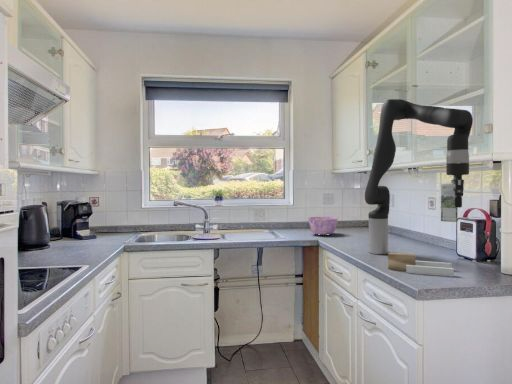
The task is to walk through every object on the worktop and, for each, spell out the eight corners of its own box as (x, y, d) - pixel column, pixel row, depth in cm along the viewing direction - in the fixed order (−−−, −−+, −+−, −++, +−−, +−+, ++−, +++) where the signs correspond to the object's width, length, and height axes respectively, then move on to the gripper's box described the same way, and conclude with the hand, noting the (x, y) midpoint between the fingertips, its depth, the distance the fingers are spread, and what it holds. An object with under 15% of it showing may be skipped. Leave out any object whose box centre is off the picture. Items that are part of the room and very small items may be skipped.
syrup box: (456, 220, 140) (456, 183, 140) (457, 222, 135) (457, 183, 135) (440, 220, 143) (440, 183, 142) (440, 221, 137) (440, 183, 137)
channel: (394, 266, 151) (394, 259, 151) (451, 270, 142) (451, 262, 142) (392, 272, 141) (392, 264, 141) (453, 277, 132) (453, 269, 132)
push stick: (388, 267, 148) (388, 252, 148) (415, 269, 144) (415, 254, 143) (388, 268, 145) (388, 254, 145) (415, 271, 141) (415, 255, 141)
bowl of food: (306, 236, 239) (305, 219, 239) (310, 232, 258) (310, 216, 258) (336, 237, 233) (336, 219, 233) (339, 233, 252) (339, 216, 252)
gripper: (445, 163, 145) (445, 205, 146) (447, 161, 132) (447, 208, 132) (466, 162, 142) (466, 205, 142) (471, 161, 129) (471, 208, 129)
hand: (457, 206), depth 137 cm, fingers closed on syrup box, 5 cm apart
